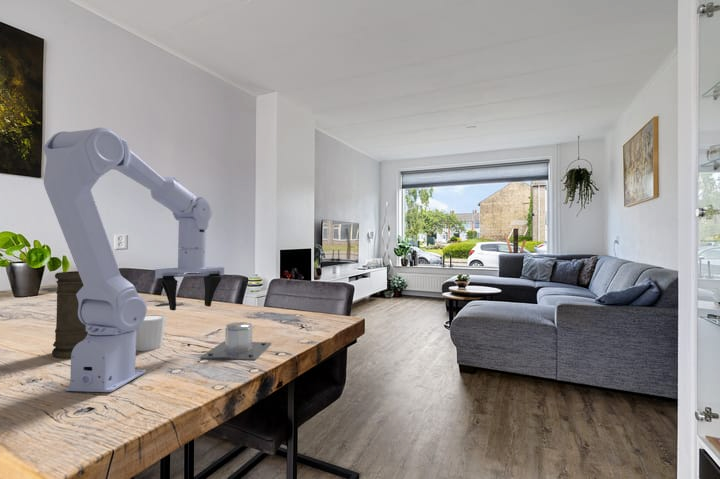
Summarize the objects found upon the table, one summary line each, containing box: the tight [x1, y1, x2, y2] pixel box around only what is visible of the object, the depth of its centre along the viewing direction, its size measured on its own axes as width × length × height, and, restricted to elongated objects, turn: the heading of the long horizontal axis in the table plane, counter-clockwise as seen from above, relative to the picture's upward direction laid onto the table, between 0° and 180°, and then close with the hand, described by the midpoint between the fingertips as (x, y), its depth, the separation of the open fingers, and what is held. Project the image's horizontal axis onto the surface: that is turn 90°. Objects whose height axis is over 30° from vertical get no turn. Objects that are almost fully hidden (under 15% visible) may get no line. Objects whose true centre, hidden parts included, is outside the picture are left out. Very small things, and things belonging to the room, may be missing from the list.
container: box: [51, 270, 88, 359], centre depth 80 cm, size 9×9×18 cm
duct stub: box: [200, 341, 272, 361], centre depth 83 cm, size 12×12×3 cm
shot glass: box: [136, 314, 166, 352], centre depth 84 cm, size 7×7×7 cm
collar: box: [225, 321, 253, 353], centre depth 83 cm, size 6×6×6 cm
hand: (190, 307), depth 82 cm, fingers open, 7 cm apart
